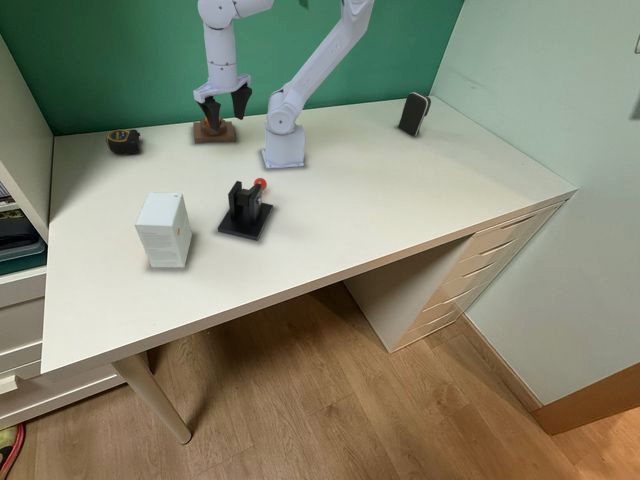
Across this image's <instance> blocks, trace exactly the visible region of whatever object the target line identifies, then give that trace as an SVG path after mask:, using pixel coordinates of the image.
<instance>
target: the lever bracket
mask: <svg viewBox="0 0 640 480" xmlns="http://www.w3.org/2000/svg"><path fill="white" fill-rule="evenodd" d="M242 189H243V181H239V180H236V182H235V183H234V184H233V185H232V187H231V189H230V190H229V192H228V193H227V200H228V206H229V208H228V210H227V212H226V213H225V215H224V217H223V219H222V220H221V221H220V223H219V225H218V226H217V232H218V233H222V234H226V235H230V236H233V237H238V238H241V239H247V240H250V241H254V242H258V241H259V239H260V238H261V235H262V233H263V231H264V229H265V227H266V225H267V222H268V221H269V218H270V216H271V214H272V213H273V209H274V204H271V203H266V202H263V191H262V186H258V185H257V186H256V188H255V189H254V191H253V193H252V195H251V196H250V198H249V206H248V207H246V206H242V205H238V204H237V199H238V192H240V191H241V190H242Z"/></svg>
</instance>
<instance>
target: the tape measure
mask: <svg viewBox="0 0 640 480" xmlns="http://www.w3.org/2000/svg"><path fill="white" fill-rule="evenodd" d="M140 137H141V132H138V130H137V129H116V130H112V131H110V132H109V133H108V134H107V135H106V138H105V143H106V146H107V147H108V149H109V150H110V152H112V153H114V154H116V155H131V154H135V153H139V152H140V149H141V148H140Z"/></svg>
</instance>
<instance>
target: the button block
mask: <svg viewBox="0 0 640 480" xmlns="http://www.w3.org/2000/svg"><path fill="white" fill-rule="evenodd" d="M192 124H193V125H192V126H193V139H194V144H195V145H197V144H198V145H199V144H210V143H216V144H217V143H236V136H235V130H234V126H233V121H231V120H230V121H227V120H225V119H223V118H222V117H220V126H219V131H215V130H213V129H211V128H210V126H207V125H206V121H205V117H204V118H202V119H201V120H199V121H194V122H193V123H192Z"/></svg>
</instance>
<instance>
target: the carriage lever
mask: <svg viewBox="0 0 640 480" xmlns="http://www.w3.org/2000/svg"><path fill="white" fill-rule="evenodd" d="M257 185H258V186H262V192H263V191H265V190H266V189H267V186H268V183H267V180H266V179H265V178H263V177H257V178H255V180H254V181H253V185H252V186H251V187H250V188H249V189H248V188H242V190H241V191H240V192H238V199H237V204H238V205H242V206H246V207H248V206H249V198H250V196H251V195H252V193H253V191H254V189H255V188H256V186H257Z"/></svg>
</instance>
